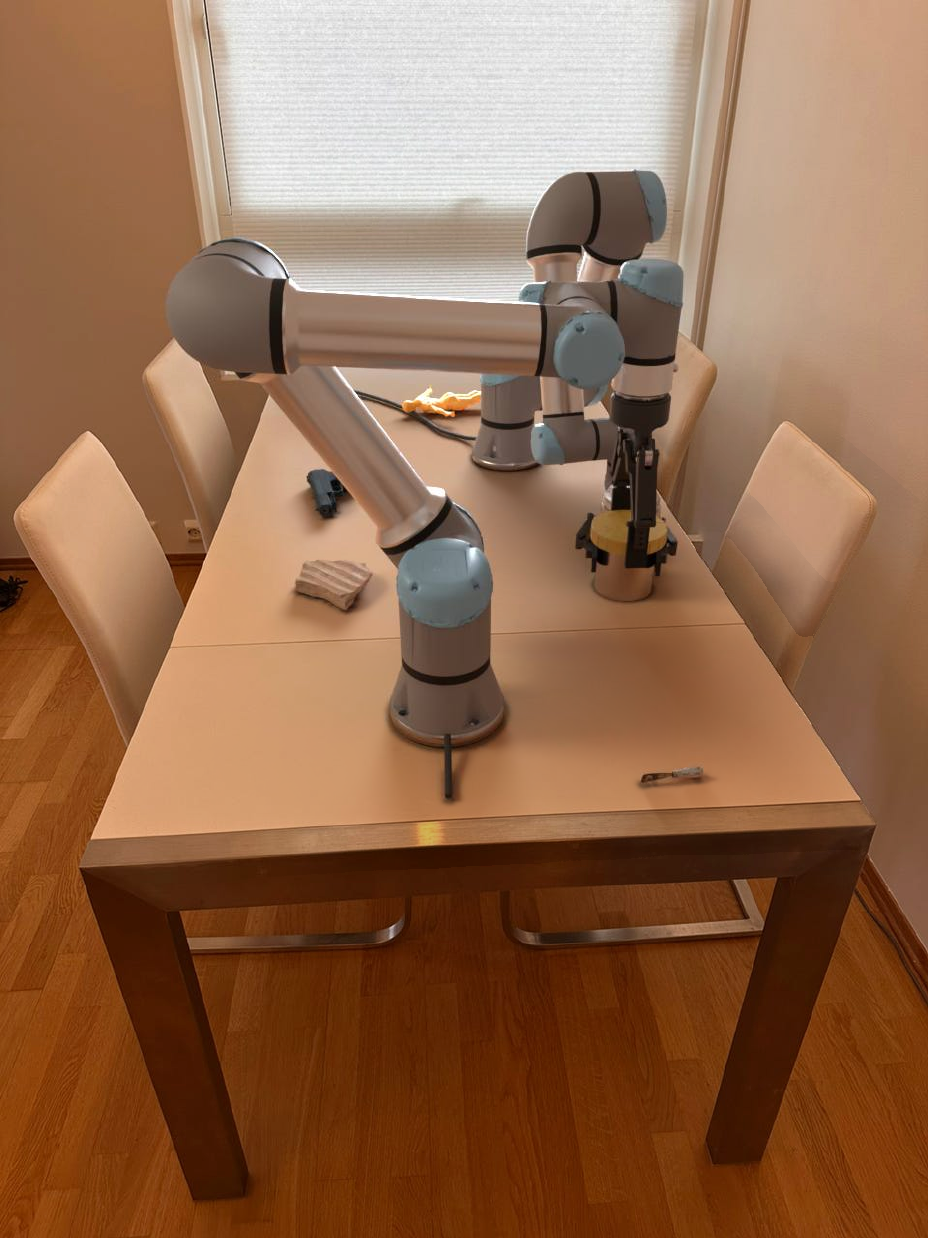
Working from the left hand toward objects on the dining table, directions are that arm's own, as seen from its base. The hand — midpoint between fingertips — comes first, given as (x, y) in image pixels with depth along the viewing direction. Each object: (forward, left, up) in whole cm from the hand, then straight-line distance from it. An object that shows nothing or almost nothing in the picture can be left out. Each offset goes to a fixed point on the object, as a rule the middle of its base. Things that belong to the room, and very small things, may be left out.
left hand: (626, 547), depth 124 cm
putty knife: (-27, -9, -17) cm, 33 cm away
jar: (+19, 0, -17) cm, 26 cm away
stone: (+8, +47, -17) cm, 51 cm away
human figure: (+101, +48, -17) cm, 113 cm away
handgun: (+44, +58, -17) cm, 75 cm away
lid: (0, 0, +3) cm, 3 cm away
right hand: (+15, 0, -11) cm, 19 cm away
